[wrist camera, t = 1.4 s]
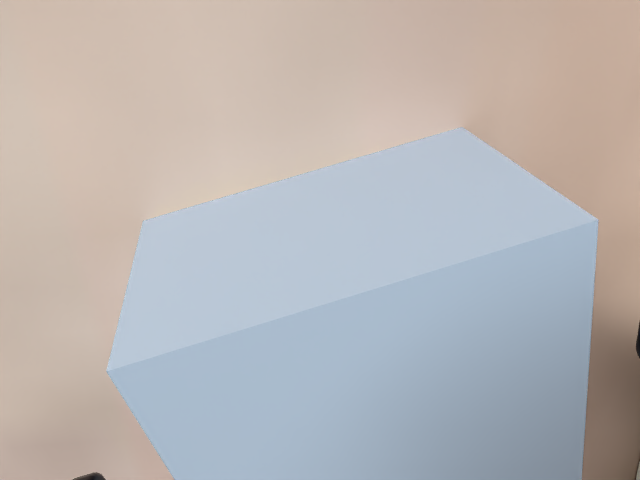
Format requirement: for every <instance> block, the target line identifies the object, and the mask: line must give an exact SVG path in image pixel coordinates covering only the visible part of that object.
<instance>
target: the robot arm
mask: <svg viewBox="0 0 640 480" xmlns="http://www.w3.org/2000/svg"><path fill="white" fill-rule="evenodd" d="M636 350H637V354H638V356H639V358H640V322H639V329H638V335H637V341H636ZM73 480H105V478H104V477H103V476H102V475H101V474H100V473H97V472H96V473H91V474H88V475H84V476H81V477H77V478H75V479H73Z"/></svg>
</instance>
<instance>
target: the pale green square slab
mask: <svg viewBox="0 0 640 480" xmlns="http://www.w3.org/2000/svg"><path fill="white" fill-rule="evenodd" d="M636 480H640V462H639V467H638V472H637V477H636Z"/></svg>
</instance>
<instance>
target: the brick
mask: <svg viewBox="0 0 640 480" xmlns="http://www.w3.org/2000/svg"><path fill="white" fill-rule="evenodd" d="M597 234H598V219H596V218H595V217H594V216H592V215H591V214H589V213H588V212H586V211H585V210H583V209H582V208H580V207H579V206H577V205H576V204H574V203H573V202H572V201H570V200H569V199H567V198H566V197H564V196H563V195H561V194H560V193H558V192H557V191H555V190H554V189H552V188H551V187H549V186H548V185H547V184H545V183H544V182H542V181H541V180H539V179H538V178H536V177H535V176H533V175H532V174H530V173H529V172H527V171H526V170H525V169H523V168H522V167H520V166H519V165H517V164H516V163H514V162H513V161H511V160H510V159H508V158H507V157H505V156H504V155H503V154H501V153H500V152H498V151H497V150H495V149H494V148H492V147H491V146H489V145H488V144H486V143H485V142H483V141H482V140H481V139H479V138H478V137H476V136H475V135H473V134H472V133H470V132H469V131H467V130H466V129H464V128H463V127H460V128H457V129H454V130H450V131H447V132H443V133H440V134H437V135H433V136H430V137H426V138H423V139H420V140H416V141H413V142H409V143H406V144H403V145H399V146H396V147H392V148H389V149H386V150H382V151H379V152H375V153H372V154H369V155H365V156H362V157H358V158H355V159H352V160H348V161H345V162H341V163H338V164H335V165H331V166H328V167H324V168H321V169H318V170H314V171H311V172H307V173H304V174H301V175H297V176H294V177H290V178H287V179H284V180H280V181H277V182H273V183H270V184H267V185H263V186H260V187H256V188H253V189H250V190H246V191H243V192H239V193H236V194H233V195H229V196H226V197H222V198H219V199H216V200H212V201H209V202H205V203H202V204H199V205H195V206H192V207H188V208H185V209H182V210H178V211H175V212H172V213H168V214H165V215H161V216H158V217H155V218H151V219H148V220H144V221H143V223H142V228H141V232H140V236H139V240H138V244H137V248H136V252H135V256H134V260H133V264H132V269H131V273H130V277H129V281H128V285H127V289H126V293H125V297H124V301H123V305H122V309H121V314H120V318H119V322H118V326H117V330H116V334H115V338H114V342H113V346H112V350H111V355H110V359H109V363H108V367H107V371H106V372H107V373H108V375H109V377H110V378H111V380H112V381H113V383H114V384H115V386H116V388H117V389H118V391H119V392H120V394H121V396H122V397H123V399H124V400H125V402H126V403H127V405H128V407H129V408H130V410H131V411H132V413H133V415H134V416H135V418H136V419H137V421H138V423H139V424H140V426H141V427H142V429H143V430H144V432H145V434H146V435H147V437H148V438H149V440H150V442H151V443H152V445H153V446H154V448H155V450H156V451H157V453H158V454H159V456H160V457H161V459H162V461H163V462H164V464H165V465H166V467H167V469H168V470H169V472H170V473H171V475H172V476H173V478H174V480H582V467H583V451H584V436H585V420H586V405H587V389H588V374H589V358H590V343H591V327H592V312H593V296H594V281H595V265H596V250H597Z"/></svg>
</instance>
